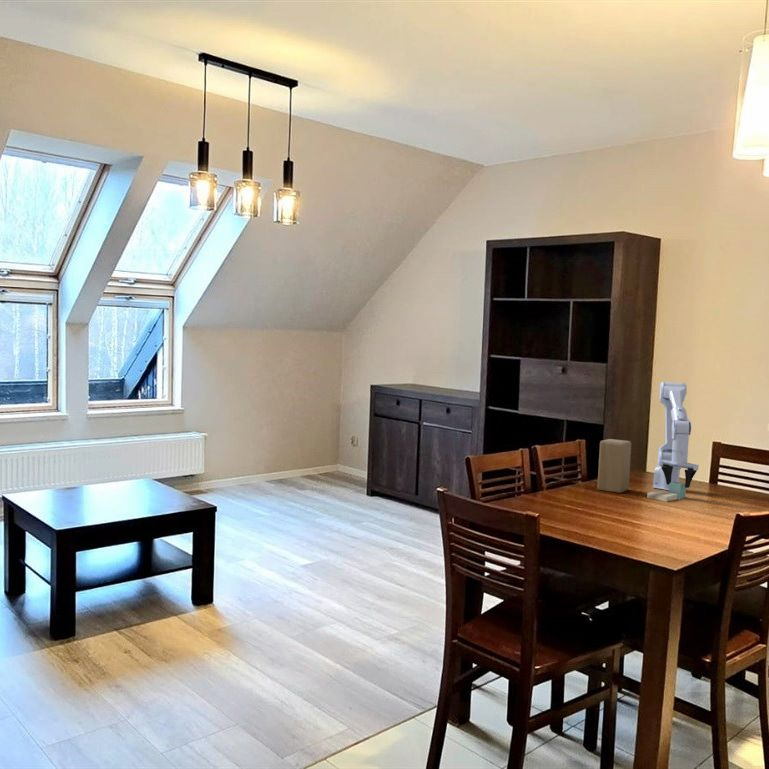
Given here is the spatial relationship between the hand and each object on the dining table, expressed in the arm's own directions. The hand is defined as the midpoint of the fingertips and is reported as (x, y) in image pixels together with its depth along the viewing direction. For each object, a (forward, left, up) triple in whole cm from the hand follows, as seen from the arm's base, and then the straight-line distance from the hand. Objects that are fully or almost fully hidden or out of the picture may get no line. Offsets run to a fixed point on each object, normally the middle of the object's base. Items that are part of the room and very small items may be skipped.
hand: (677, 485), depth 299 cm
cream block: (-2, -8, -4) cm, 9 cm away
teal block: (0, 0, -5) cm, 5 cm away
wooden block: (-22, -10, -5) cm, 25 cm away
